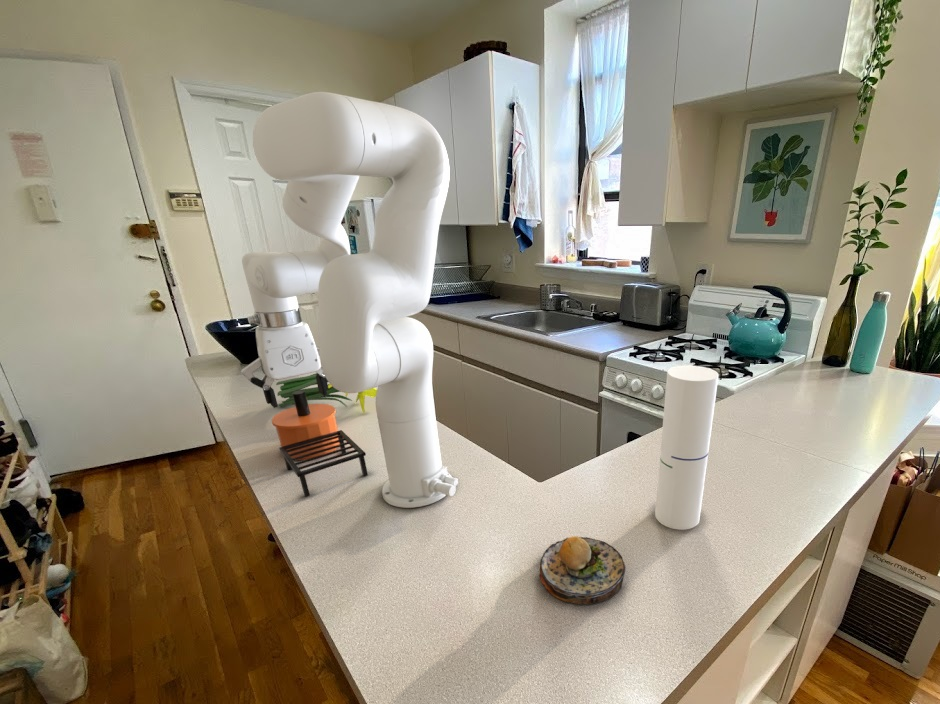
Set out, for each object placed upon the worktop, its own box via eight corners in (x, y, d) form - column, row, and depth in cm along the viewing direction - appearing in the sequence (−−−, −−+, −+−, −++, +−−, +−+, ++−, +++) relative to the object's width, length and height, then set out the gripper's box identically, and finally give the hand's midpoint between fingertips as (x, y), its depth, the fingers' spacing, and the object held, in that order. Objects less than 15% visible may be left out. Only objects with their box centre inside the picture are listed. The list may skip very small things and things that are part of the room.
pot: (351, 442, 104) (344, 411, 101) (307, 464, 95) (298, 431, 92) (317, 433, 109) (310, 403, 106) (272, 453, 100) (263, 422, 97)
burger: (639, 591, 62) (643, 546, 59) (556, 616, 58) (555, 570, 55) (601, 537, 72) (602, 497, 69) (529, 556, 68) (526, 514, 65)
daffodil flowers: (318, 392, 137) (411, 371, 123) (296, 433, 129) (393, 416, 115) (271, 354, 125) (367, 326, 111) (243, 397, 117) (344, 373, 103)
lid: (348, 413, 102) (343, 387, 99) (298, 435, 92) (291, 407, 89) (311, 405, 107) (305, 379, 104) (260, 425, 97) (251, 397, 94)
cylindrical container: (691, 535, 72) (711, 384, 62) (648, 520, 76) (660, 375, 66) (704, 511, 78) (724, 369, 68) (663, 499, 81) (676, 362, 71)
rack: (370, 475, 91) (365, 452, 89) (304, 498, 84) (297, 474, 82) (346, 450, 100) (341, 429, 98) (285, 469, 93) (278, 447, 91)
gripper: (232, 329, 83) (257, 416, 90) (332, 315, 93) (347, 394, 100) (223, 322, 88) (248, 405, 95) (319, 310, 98) (334, 385, 105)
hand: (299, 399), depth 98 cm, fingers open, 9 cm apart
